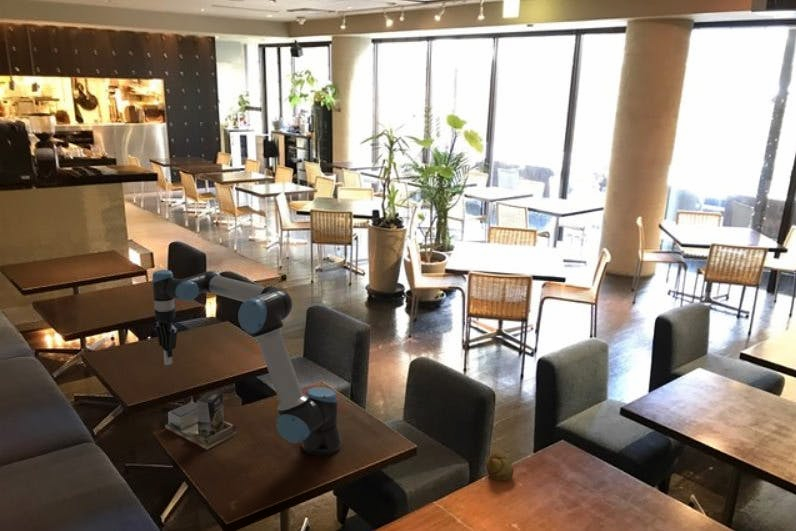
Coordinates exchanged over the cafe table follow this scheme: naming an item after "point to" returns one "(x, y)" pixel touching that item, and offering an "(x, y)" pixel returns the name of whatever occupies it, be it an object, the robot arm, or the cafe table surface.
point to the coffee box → (210, 414)
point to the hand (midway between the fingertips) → (168, 363)
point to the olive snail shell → (499, 467)
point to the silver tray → (206, 443)
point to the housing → (183, 416)
